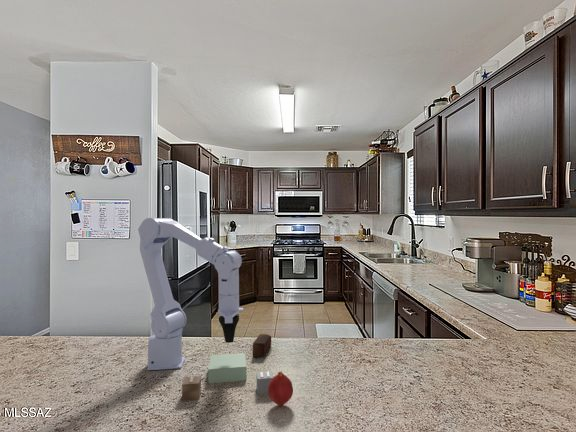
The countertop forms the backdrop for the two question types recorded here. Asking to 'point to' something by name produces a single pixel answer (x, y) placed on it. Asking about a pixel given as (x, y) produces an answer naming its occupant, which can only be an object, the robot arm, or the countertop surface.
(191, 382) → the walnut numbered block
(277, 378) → the onion
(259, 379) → the slate numbered block
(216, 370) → the sage block
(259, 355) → the brick
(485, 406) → the countertop surface
